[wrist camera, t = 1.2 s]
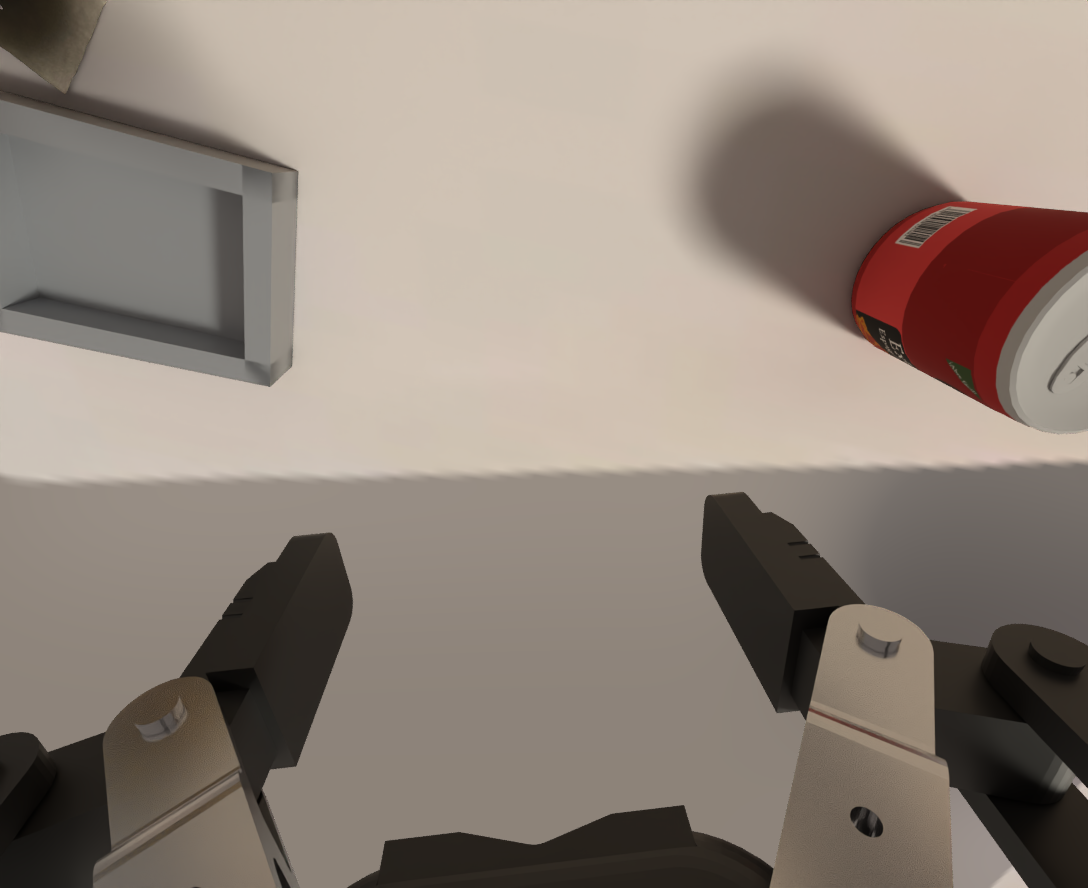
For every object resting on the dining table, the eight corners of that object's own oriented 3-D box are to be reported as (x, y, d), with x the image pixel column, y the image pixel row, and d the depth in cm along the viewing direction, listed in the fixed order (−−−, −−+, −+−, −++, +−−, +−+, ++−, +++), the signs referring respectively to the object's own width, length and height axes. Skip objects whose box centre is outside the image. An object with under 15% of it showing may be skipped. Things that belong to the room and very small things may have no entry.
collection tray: (-17, 85, 22) (-87, 76, 20) (298, 171, 25) (272, 172, 22) (30, 310, 27) (-22, 327, 24) (292, 366, 29) (270, 386, 26)
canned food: (821, 334, 30) (967, 419, 20) (895, 182, 26) (1117, 197, 16) (936, 360, 31) (1126, 451, 21) (1022, 217, 27) (1300, 251, 18)
